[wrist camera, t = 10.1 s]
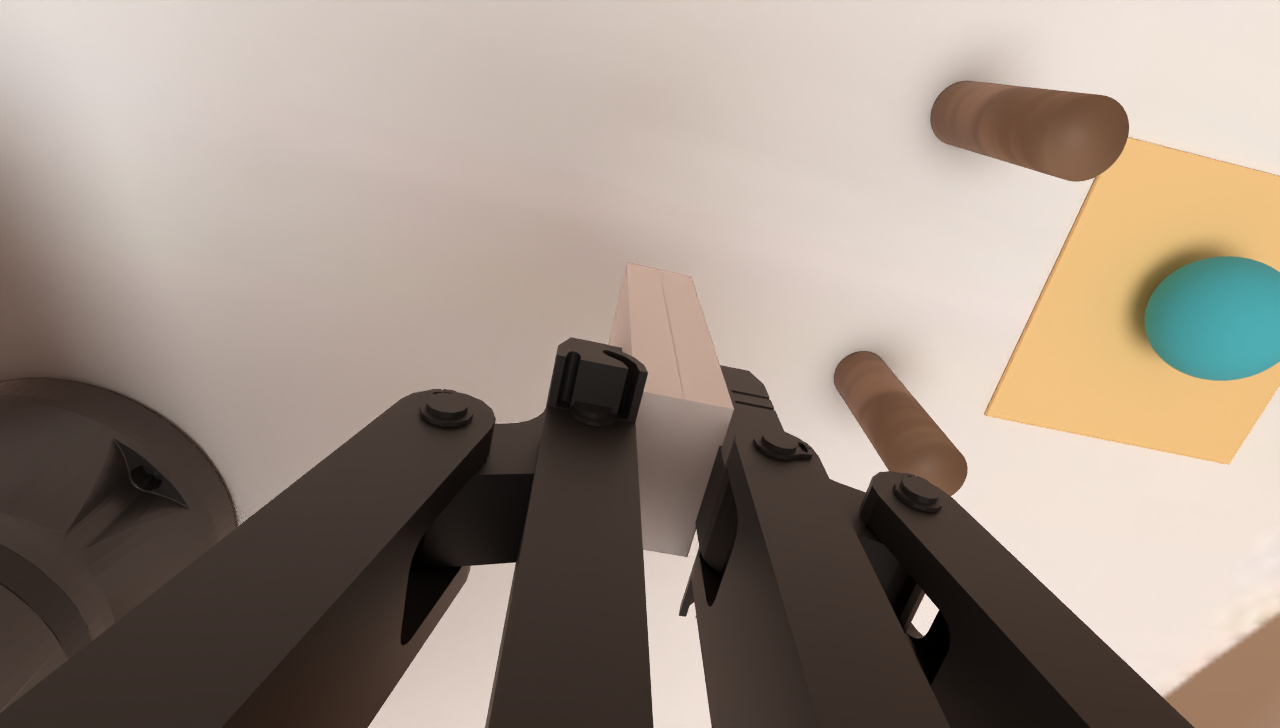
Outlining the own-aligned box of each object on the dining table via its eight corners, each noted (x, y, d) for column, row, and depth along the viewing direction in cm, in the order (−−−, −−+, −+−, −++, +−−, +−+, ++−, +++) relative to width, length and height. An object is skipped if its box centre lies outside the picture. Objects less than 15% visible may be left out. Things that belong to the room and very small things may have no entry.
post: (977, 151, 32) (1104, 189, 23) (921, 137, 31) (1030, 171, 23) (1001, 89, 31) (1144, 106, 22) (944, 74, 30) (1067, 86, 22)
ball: (1279, 417, 30) (1134, 373, 32) (1237, 373, 35) (1113, 337, 36) (1359, 294, 28) (1198, 253, 29) (1303, 265, 33) (1167, 232, 34)
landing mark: (1225, 462, 39) (1228, 464, 38) (984, 414, 37) (986, 416, 37) (1390, 205, 33) (1395, 206, 33) (1116, 134, 31) (1119, 135, 31)
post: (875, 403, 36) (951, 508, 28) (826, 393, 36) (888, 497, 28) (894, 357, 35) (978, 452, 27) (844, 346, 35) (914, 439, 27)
